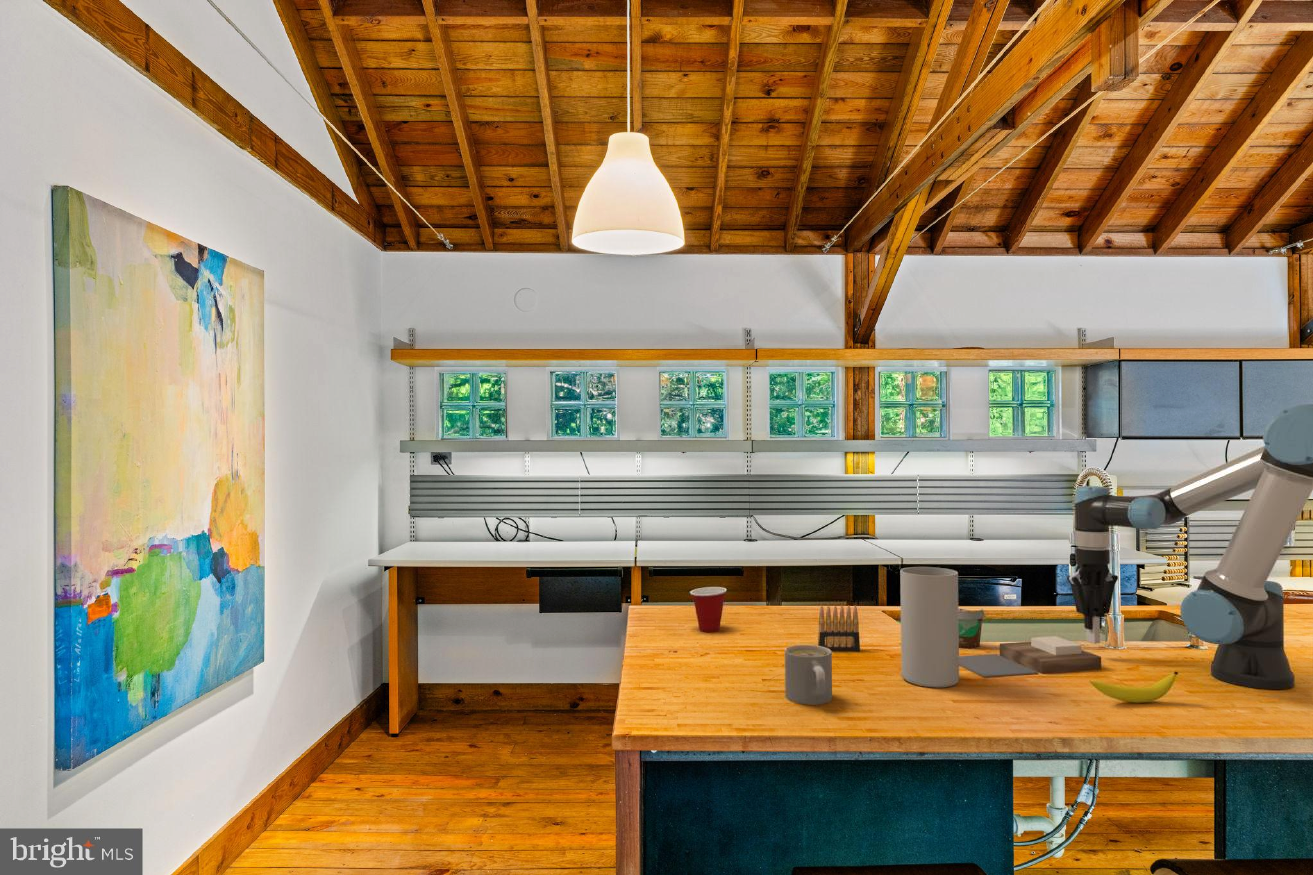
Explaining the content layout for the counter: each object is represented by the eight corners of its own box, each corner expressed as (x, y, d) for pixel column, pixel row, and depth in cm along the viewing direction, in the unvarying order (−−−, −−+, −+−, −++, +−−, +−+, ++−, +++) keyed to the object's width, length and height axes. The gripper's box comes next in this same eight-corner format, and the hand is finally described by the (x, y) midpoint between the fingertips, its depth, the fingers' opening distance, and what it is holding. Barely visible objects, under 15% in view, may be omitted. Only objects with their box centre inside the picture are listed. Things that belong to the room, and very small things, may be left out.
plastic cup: (689, 625, 232) (689, 585, 232) (725, 625, 232) (725, 585, 232) (690, 634, 221) (690, 592, 222) (728, 634, 221) (728, 592, 221)
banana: (1085, 701, 162) (1085, 671, 162) (1172, 699, 163) (1172, 669, 163) (1094, 706, 159) (1093, 675, 159) (1182, 704, 160) (1182, 673, 160)
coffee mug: (782, 689, 172) (782, 644, 172) (828, 689, 171) (827, 644, 171) (790, 710, 159) (789, 661, 159) (838, 710, 158) (838, 661, 158)
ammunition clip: (858, 649, 204) (858, 604, 204) (860, 651, 202) (859, 605, 202) (817, 649, 204) (817, 604, 205) (819, 651, 203) (818, 605, 203)
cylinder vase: (922, 690, 170) (921, 577, 170) (890, 674, 182) (889, 568, 182) (971, 685, 173) (969, 574, 173) (936, 670, 185) (935, 565, 185)
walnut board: (1101, 669, 185) (1101, 656, 185) (1041, 673, 182) (1041, 660, 182) (1055, 651, 200) (1055, 640, 200) (999, 655, 197) (999, 643, 197)
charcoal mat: (1037, 673, 181) (1037, 672, 181) (983, 677, 179) (983, 675, 179) (996, 655, 197) (996, 653, 197) (945, 658, 195) (945, 657, 195)
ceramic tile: (1081, 653, 188) (1081, 645, 188) (1055, 655, 186) (1055, 646, 186) (1055, 644, 196) (1055, 636, 196) (1031, 645, 195) (1031, 637, 195)
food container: (933, 646, 206) (933, 609, 207) (937, 641, 212) (936, 604, 212) (983, 652, 201) (983, 613, 201) (985, 646, 206) (985, 608, 206)
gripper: (1103, 545, 198) (1104, 636, 198) (1058, 546, 196) (1059, 639, 196) (1126, 549, 191) (1127, 644, 191) (1079, 550, 189) (1080, 647, 188)
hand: (1093, 641), depth 193 cm, fingers closed
